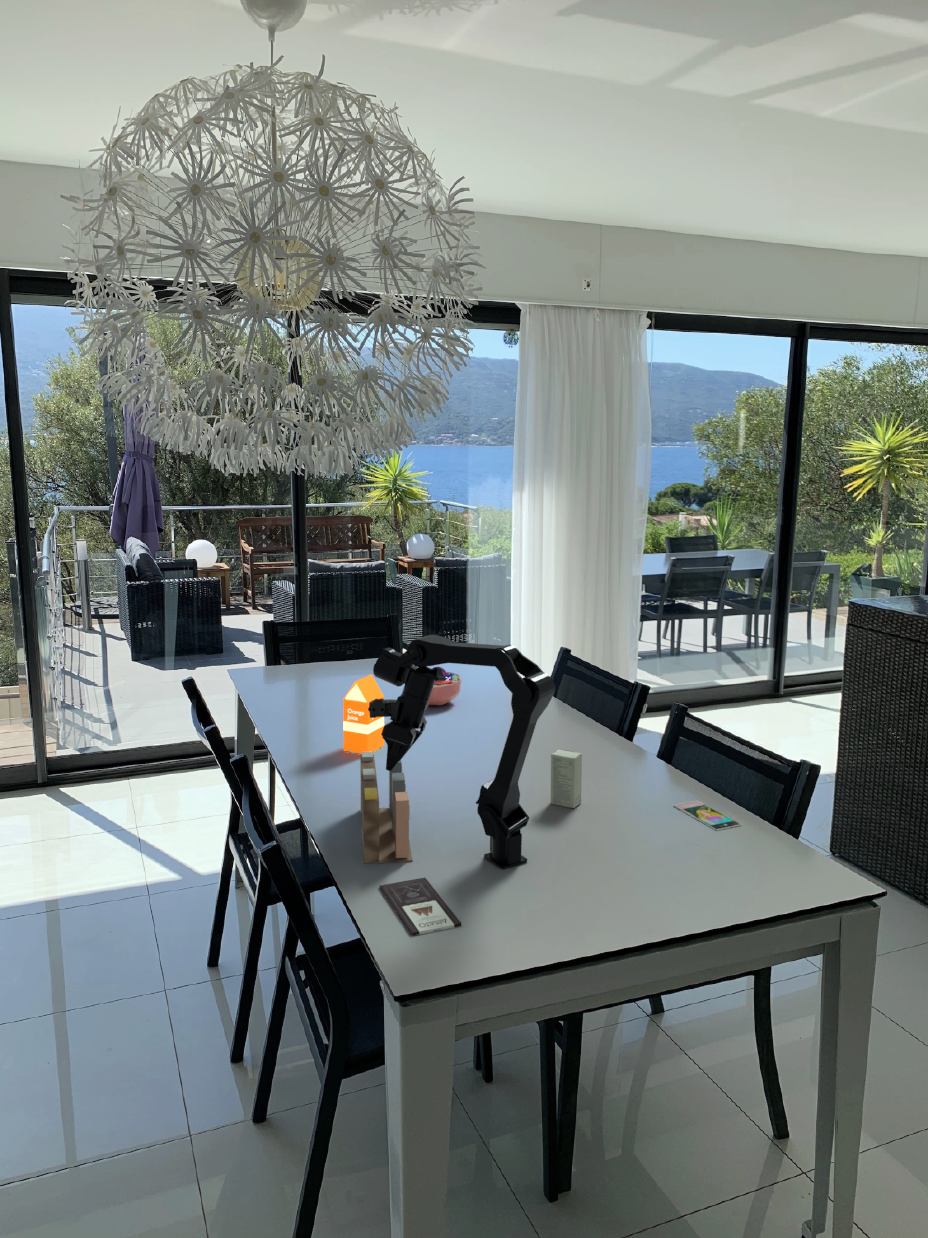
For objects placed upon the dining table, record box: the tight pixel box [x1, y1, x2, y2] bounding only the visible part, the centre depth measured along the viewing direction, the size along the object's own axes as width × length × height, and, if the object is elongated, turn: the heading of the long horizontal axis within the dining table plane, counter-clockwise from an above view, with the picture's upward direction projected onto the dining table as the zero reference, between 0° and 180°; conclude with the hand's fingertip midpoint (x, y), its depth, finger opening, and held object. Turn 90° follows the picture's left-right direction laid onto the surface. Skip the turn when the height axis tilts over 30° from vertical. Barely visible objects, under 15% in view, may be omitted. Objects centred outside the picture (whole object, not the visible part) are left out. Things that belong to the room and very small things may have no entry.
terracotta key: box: [395, 791, 411, 858], centre depth 180 cm, size 3×4×12 cm, turn 8°
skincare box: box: [550, 748, 583, 809], centre depth 209 cm, size 6×4×12 cm
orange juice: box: [342, 674, 385, 754], centre depth 244 cm, size 8×9×20 cm
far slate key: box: [388, 759, 403, 814], centre depth 202 cm, size 3×4×12 cm, turn 8°
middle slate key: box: [392, 772, 407, 835], centre depth 191 cm, size 3×4×12 cm, turn 8°
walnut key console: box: [359, 751, 413, 864], centre depth 190 cm, size 10×27×14 cm, turn 8°
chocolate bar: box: [379, 877, 462, 937], centre depth 162 cm, size 9×1×18 cm
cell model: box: [428, 666, 462, 706], centre depth 290 cm, size 17×20×11 cm
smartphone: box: [673, 800, 742, 832], centre depth 204 cm, size 7×1×15 cm
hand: (392, 765), depth 187 cm, fingers open, 9 cm apart
